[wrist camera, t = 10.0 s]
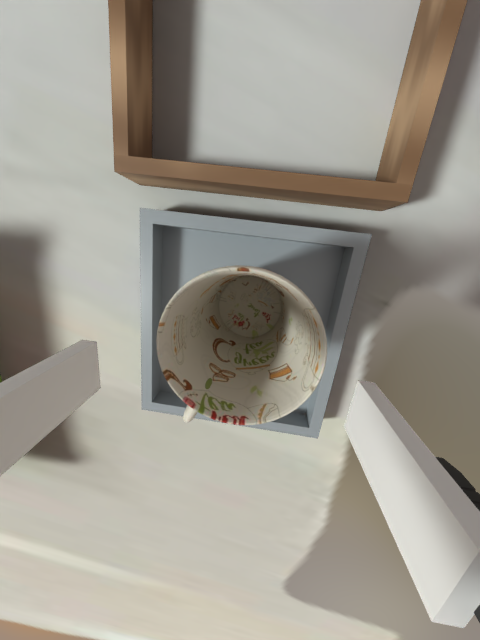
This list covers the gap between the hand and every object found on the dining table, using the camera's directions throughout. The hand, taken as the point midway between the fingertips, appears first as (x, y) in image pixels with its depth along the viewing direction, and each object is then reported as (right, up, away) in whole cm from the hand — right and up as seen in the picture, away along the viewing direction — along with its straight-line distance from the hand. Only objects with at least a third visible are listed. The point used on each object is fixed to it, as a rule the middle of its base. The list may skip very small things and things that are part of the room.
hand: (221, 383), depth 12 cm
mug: (+1, +3, +10) cm, 10 cm away
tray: (+1, +3, +10) cm, 11 cm away
